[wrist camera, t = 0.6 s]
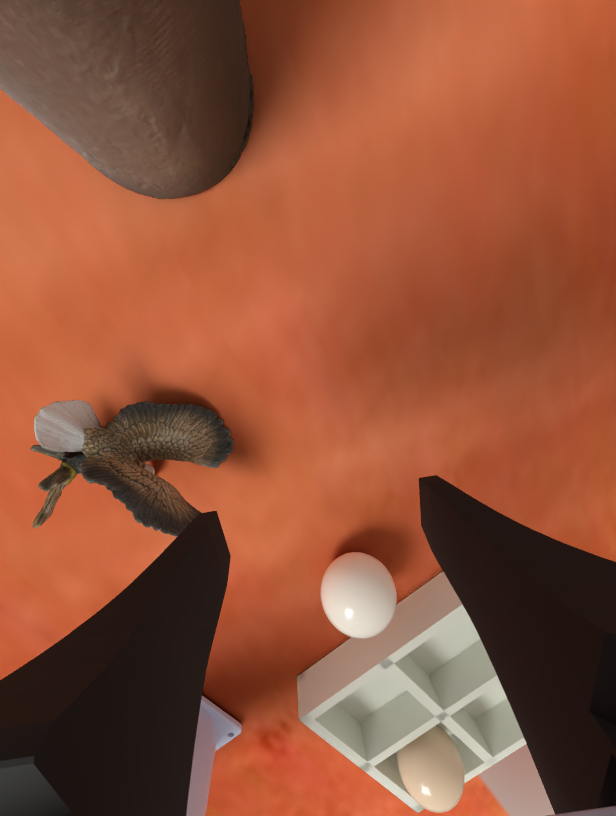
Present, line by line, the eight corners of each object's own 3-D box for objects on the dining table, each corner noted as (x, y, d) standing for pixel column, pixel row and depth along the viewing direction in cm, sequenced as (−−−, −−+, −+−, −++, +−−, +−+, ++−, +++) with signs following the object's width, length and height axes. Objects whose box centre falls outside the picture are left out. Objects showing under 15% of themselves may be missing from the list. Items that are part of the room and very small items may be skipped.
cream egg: (344, 605, 25) (359, 671, 20) (302, 565, 24) (308, 625, 19) (396, 567, 25) (424, 626, 20) (356, 524, 24) (375, 575, 19)
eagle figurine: (87, 526, 21) (224, 540, 20) (-31, 528, 14) (169, 549, 13) (119, 412, 23) (244, 420, 22) (33, 367, 17) (205, 376, 16)
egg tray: (404, 766, 30) (417, 812, 27) (296, 676, 27) (298, 719, 24) (544, 673, 29) (574, 713, 26) (450, 565, 25) (473, 596, 22)
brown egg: (410, 754, 29) (435, 839, 25) (377, 726, 28) (397, 810, 23) (455, 724, 29) (490, 805, 24) (424, 694, 28) (454, 773, 23)
